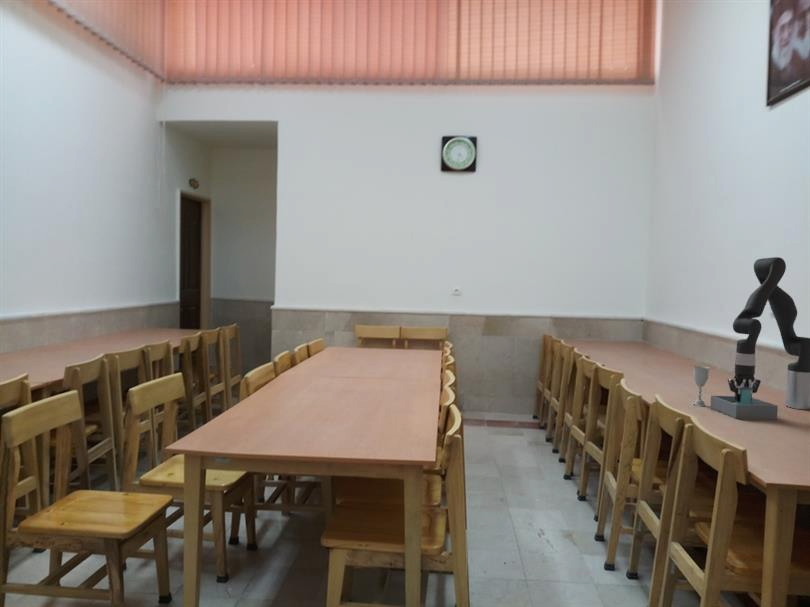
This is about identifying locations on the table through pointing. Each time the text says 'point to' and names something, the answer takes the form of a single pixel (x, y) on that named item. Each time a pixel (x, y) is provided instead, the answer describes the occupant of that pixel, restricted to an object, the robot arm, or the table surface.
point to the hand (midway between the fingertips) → (743, 401)
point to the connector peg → (745, 396)
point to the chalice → (700, 381)
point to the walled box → (744, 408)
